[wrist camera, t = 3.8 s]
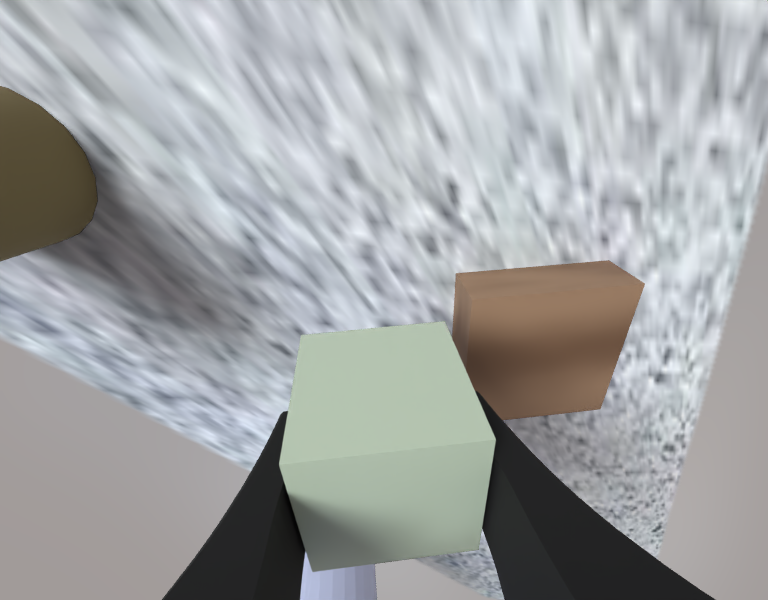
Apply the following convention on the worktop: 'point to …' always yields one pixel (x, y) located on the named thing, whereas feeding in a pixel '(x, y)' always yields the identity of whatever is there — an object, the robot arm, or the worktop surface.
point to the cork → (40, 179)
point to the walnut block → (543, 334)
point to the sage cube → (385, 447)
